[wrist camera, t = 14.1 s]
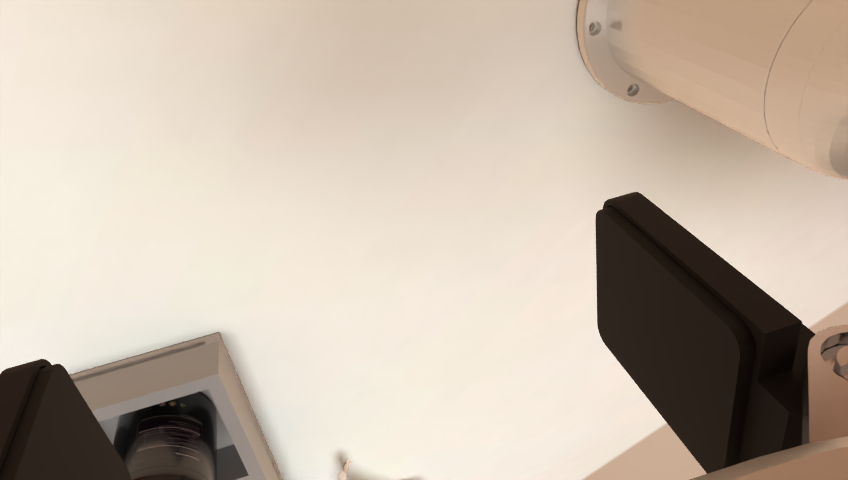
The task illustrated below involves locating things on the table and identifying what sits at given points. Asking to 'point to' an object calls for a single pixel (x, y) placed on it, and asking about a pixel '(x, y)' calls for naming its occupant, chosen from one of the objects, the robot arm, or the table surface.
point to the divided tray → (176, 377)
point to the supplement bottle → (170, 440)
